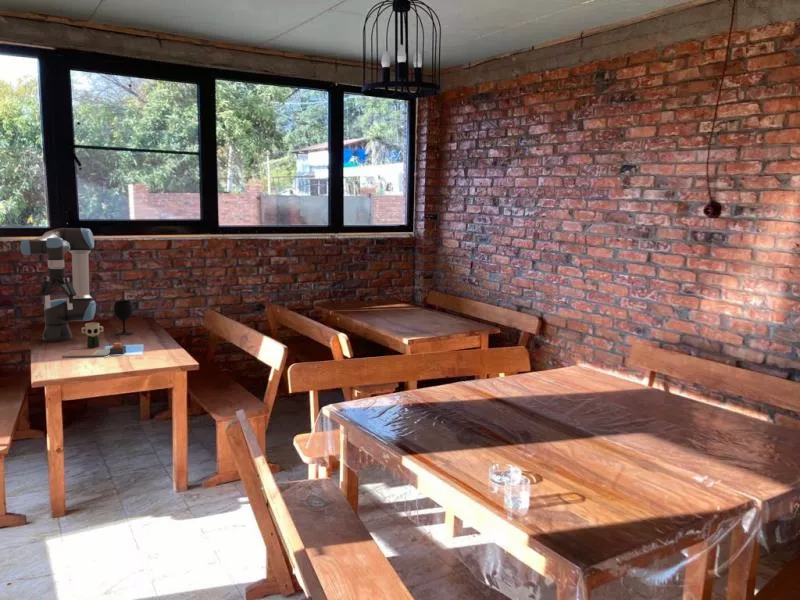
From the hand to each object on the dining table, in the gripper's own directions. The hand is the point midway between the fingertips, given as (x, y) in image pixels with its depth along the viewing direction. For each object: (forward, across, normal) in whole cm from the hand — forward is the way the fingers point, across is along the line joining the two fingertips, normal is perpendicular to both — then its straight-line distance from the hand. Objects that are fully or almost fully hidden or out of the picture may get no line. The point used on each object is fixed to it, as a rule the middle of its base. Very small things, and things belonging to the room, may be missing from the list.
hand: (59, 308), depth 331 cm
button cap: (+22, +24, +13) cm, 35 cm away
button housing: (+25, +24, +13) cm, 37 cm away
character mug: (+25, +1, +22) cm, 34 cm away
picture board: (+25, +11, +7) cm, 28 cm away
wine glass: (+26, -5, +57) cm, 62 cm away
